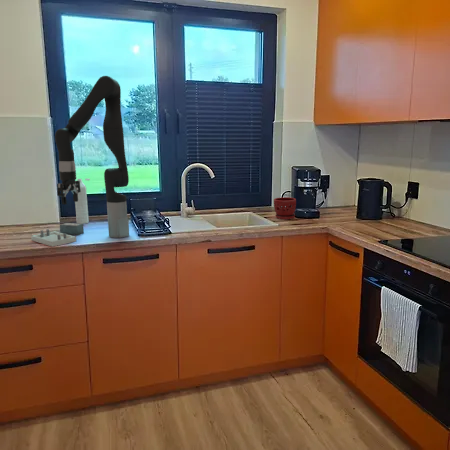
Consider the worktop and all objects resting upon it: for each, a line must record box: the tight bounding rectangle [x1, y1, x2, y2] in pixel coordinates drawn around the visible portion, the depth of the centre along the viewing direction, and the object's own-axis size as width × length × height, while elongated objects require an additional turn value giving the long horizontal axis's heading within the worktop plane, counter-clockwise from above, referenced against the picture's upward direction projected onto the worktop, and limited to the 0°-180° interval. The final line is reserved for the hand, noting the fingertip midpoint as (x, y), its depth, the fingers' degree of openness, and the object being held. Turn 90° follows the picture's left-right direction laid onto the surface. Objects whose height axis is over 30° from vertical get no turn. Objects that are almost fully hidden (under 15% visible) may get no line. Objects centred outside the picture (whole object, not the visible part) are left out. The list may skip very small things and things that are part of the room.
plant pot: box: [273, 196, 297, 221], centre depth 247 cm, size 13×13×12 cm
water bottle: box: [74, 177, 91, 225], centre depth 232 cm, size 9×6×25 cm
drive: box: [59, 222, 85, 237], centre depth 209 cm, size 10×5×5 cm, turn 75°
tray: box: [30, 228, 77, 247], centre depth 195 cm, size 18×12×4 cm, turn 52°
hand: (70, 202), depth 206 cm, fingers open, 8 cm apart
